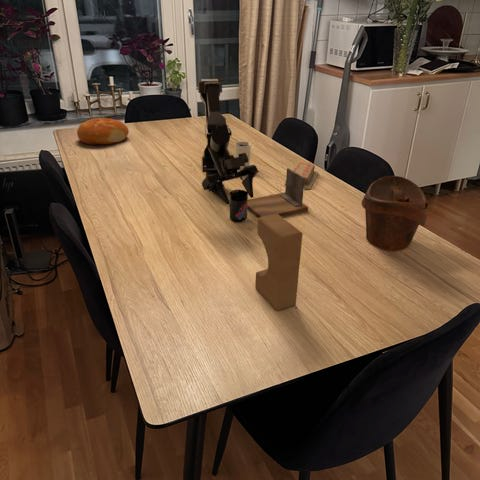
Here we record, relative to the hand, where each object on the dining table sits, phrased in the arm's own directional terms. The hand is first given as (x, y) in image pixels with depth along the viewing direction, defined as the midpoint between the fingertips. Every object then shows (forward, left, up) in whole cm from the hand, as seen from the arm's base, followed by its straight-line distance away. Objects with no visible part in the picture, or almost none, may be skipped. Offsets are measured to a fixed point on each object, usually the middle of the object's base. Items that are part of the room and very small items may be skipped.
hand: (240, 200), depth 145 cm
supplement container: (-1, 0, -7) cm, 7 cm away
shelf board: (-3, +15, -7) cm, 17 cm away
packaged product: (-21, +38, -7) cm, 44 cm away
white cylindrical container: (-43, +23, -7) cm, 49 cm away
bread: (-104, -21, -7) cm, 107 cm away
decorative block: (+41, -11, -7) cm, 43 cm away
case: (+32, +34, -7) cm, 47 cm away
